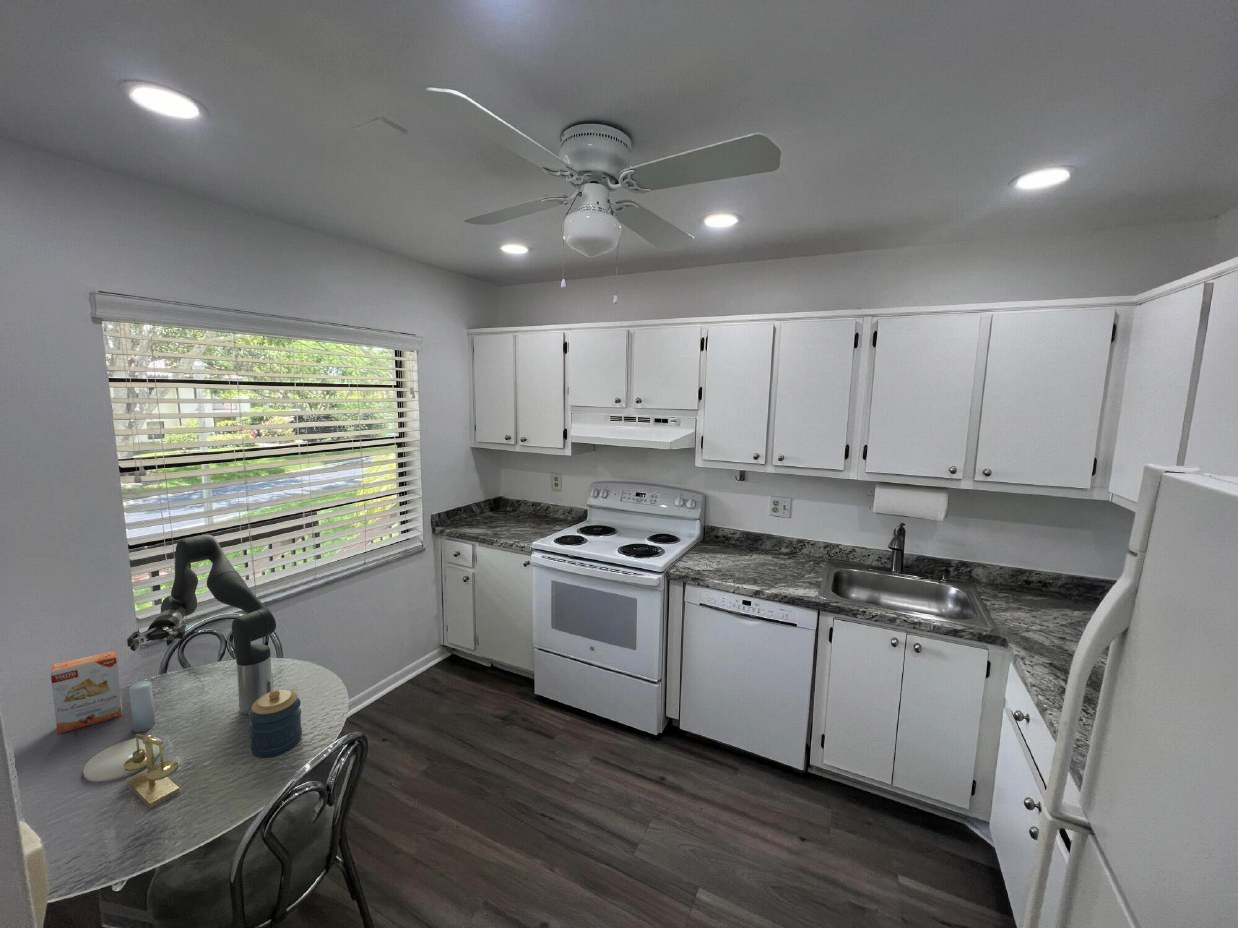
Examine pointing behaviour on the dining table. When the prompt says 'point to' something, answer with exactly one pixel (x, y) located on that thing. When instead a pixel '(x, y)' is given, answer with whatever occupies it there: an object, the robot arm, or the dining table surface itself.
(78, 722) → the cracker box
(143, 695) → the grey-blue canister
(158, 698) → the dining table surface
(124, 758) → the cream plate
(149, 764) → the brass balance
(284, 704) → the canister
